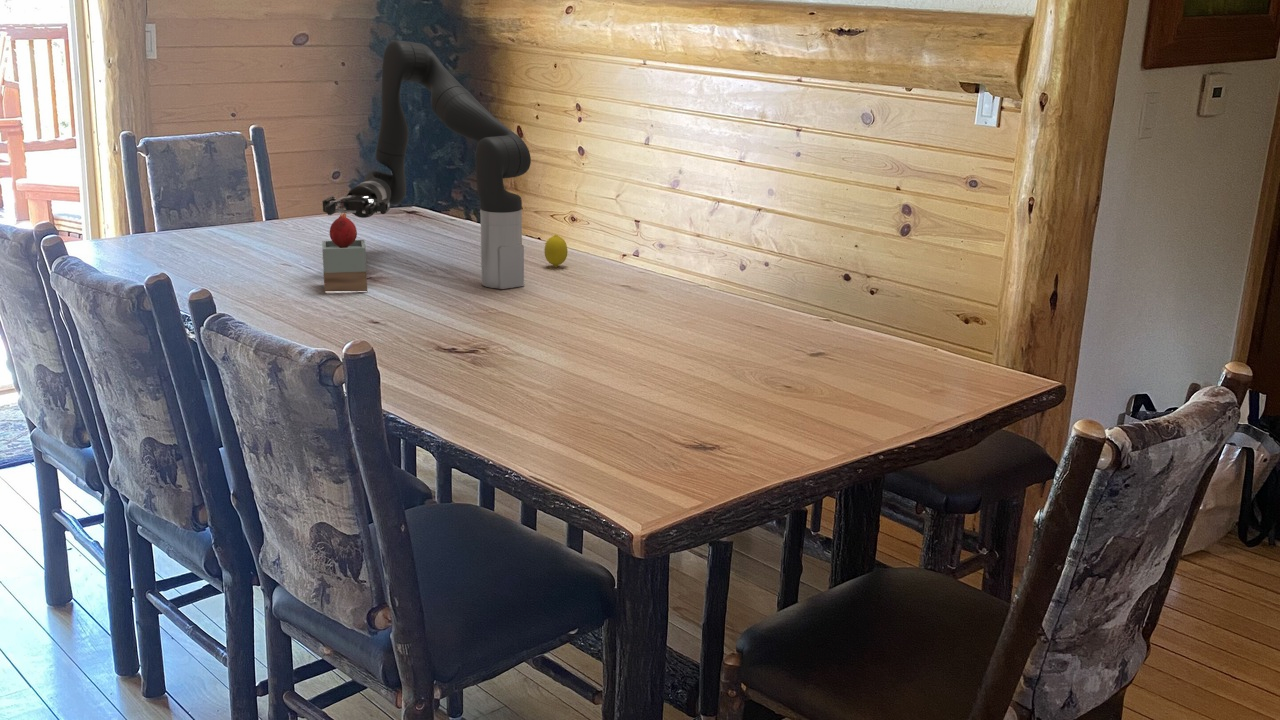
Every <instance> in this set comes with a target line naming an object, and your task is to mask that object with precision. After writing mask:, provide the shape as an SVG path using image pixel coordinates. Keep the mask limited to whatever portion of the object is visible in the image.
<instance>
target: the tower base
mask: <svg viewBox="0 0 1280 720" xmlns="http://www.w3.org/2000/svg"><path fill="white" fill-rule="evenodd" d="M367 274H368V273H367V271H365V272H337V273H324V272H323V281H324V282H323V285H324V292H325V291H367V292H368V277H367Z"/></svg>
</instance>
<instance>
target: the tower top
mask: <svg viewBox="0 0 1280 720" xmlns="http://www.w3.org/2000/svg"><path fill="white" fill-rule="evenodd" d="M321 244H322V247H321V248H322V264H323V274H324V273H337V272H365V271H366V272H367V268H368V267H367V253H366V251H367V250H366V244H365V239H355V241H354V242H353V243H352V244H351V245H350V246H348V248H340V247H338V246H337V245H335V244H334V243H333V241H332V240H322V242H321Z"/></svg>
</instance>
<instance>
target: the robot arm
mask: <svg viewBox="0 0 1280 720" xmlns="http://www.w3.org/2000/svg"><path fill="white" fill-rule="evenodd" d="M382 57H383V59H382V68H381V69H382V71H381V72H382V73H381V115H380V117H381V118H380V127H379V131H378V133H379V134H378V137H377V144H376V150H375V160H376V161H377V162H378V163H379V164H381V165H382V166H384V167H386V168H388V169H389V170H390V172H391V174H390V173H386V172H382V171H378V170H370V171H368V172H367V173H366V175H365V176H364V180H363V182H360V183H359V184H357V185H356V186H354V187H352V188H351V189H350V190H348V193H347V194H346V196H343V197H338V198H336V197H335V196H330V197H328V198H325V199H324V200H322V212H323V213H326V214H327V216H332V215H334V214H335V213H339V214H342V213H345V214H349V213H350V214H353V215H354V217H357V218H361V219H367V218H369V217H372V216H373V215H378V212H380V213H379V214H382V215H385V214H387V212H389V211H390V205H393V206H394V205H395V206H396V205H399V204H402V202H403V201H404V200H405V198H406V195H407V180H406V173H405V159H406V153H407V149H408V143H409V126H408V122H407V118H406V116H405V114H404V110H403V107H402V104H401V94H400V92H401V86H402V82H410V83H416V84H417V83H418V84H420V85H422V86H423V87H424V88H426V89H427V90H428V91H429V92H430V93H431V95H430V105H431V109H432V111H433V113H434V115H436V117H437V119H438V120H440V121H441V122H442V123H443V124H444V126H445V127H446V128H448V129H449V130H450V131H452V132H454V133H455V134H457V135H459V136H461V137H463V138H465V139H468V140H471V141H473V142H475V143H477V144H476V147H475V152H474V153H475V155H474V161H475V163H474V164H475V175H476V190H477V197H478V200H479V205H480V206H479V209H480V213H479V214H480V266H481V285H482V286H484V287H486V288H492V289H498V290H507V289H512V288H513V289H514V288H518V287H519V288H520V287H523V286H525V256H524V255H525V252H524V251H525V249H524V248H525V246H524V245H523V224H522V223H523V201H522V197H521V196H520V195H518V194H516V193H513V192H510V191H508V190H506V189H505V187H504V179H510V178H517V177H521V176H523V175H524V174H526V173H527V172H528V171H529V169H530V167H531V164H532V160H531V157H532V156H531V153H530V150H529V148H528V146H527V144H526V143H525V141H524V140H523V138H521V137H520V136H519V135H517V134H516V133H515V132H514V131H512V130H511V129H510V128H508V127H507V126H506V125H504V123H502V122H500V121H499V120H498V119H497V117H495V116H494V115H493V114H492V113H491V112H490V111H489V110H487V109H486V108H485V107H484V106H483V105H482V104H481V103H480V102H479V101H478V100H477V99H476V97H475V96H474V95H473V94H472V93H471V92H470V91H469V90H467V88H465V86H463V85H462V84H461V83H460V82H459V81H458V80H457V78H455V77H454V76H453V75H452V74H451V73H450V72H449V71H448V69H447V68H446V67H445V66H444V65H443V63H442V62H441V60H440V59H439V58H438V56H437V55H436V54H435V53H434V52H433V50H432V49H431V48H430V47H429V46H427V45H426V44H424V43H420V42H414V41H407V40H392V41H390V42H389V43H388V44H387V46H386V47H385V49H384V53H383V56H382Z"/></svg>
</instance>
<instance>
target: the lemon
mask: <svg viewBox="0 0 1280 720" xmlns="http://www.w3.org/2000/svg"><path fill="white" fill-rule="evenodd" d="M567 256H568V246H567V242H566V241H565V239H564V238H562V236H560V235H558V234H554V235H553V236H551V237H549V238H548V239H547V240H546V242H545V246H544V257H545V260H546V261H547V262H548V263H549V264H551V265H552V266H553V267H554V268H557V267H558V268H559V265H561V264H563V263H564V262H566V259H567Z"/></svg>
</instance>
